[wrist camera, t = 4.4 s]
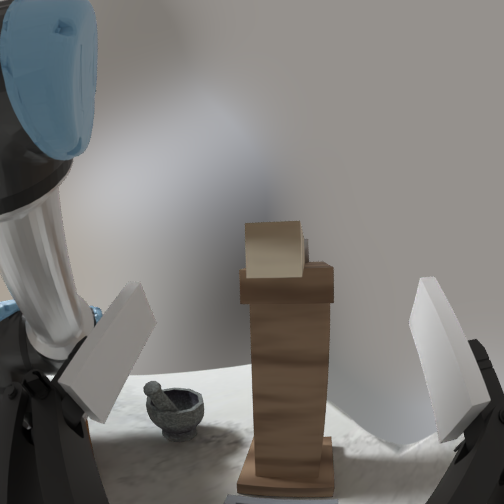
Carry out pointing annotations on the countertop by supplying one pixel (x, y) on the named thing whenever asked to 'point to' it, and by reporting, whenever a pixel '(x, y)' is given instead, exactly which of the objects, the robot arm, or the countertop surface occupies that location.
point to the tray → (273, 501)
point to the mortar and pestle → (174, 410)
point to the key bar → (275, 249)
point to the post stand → (289, 384)
